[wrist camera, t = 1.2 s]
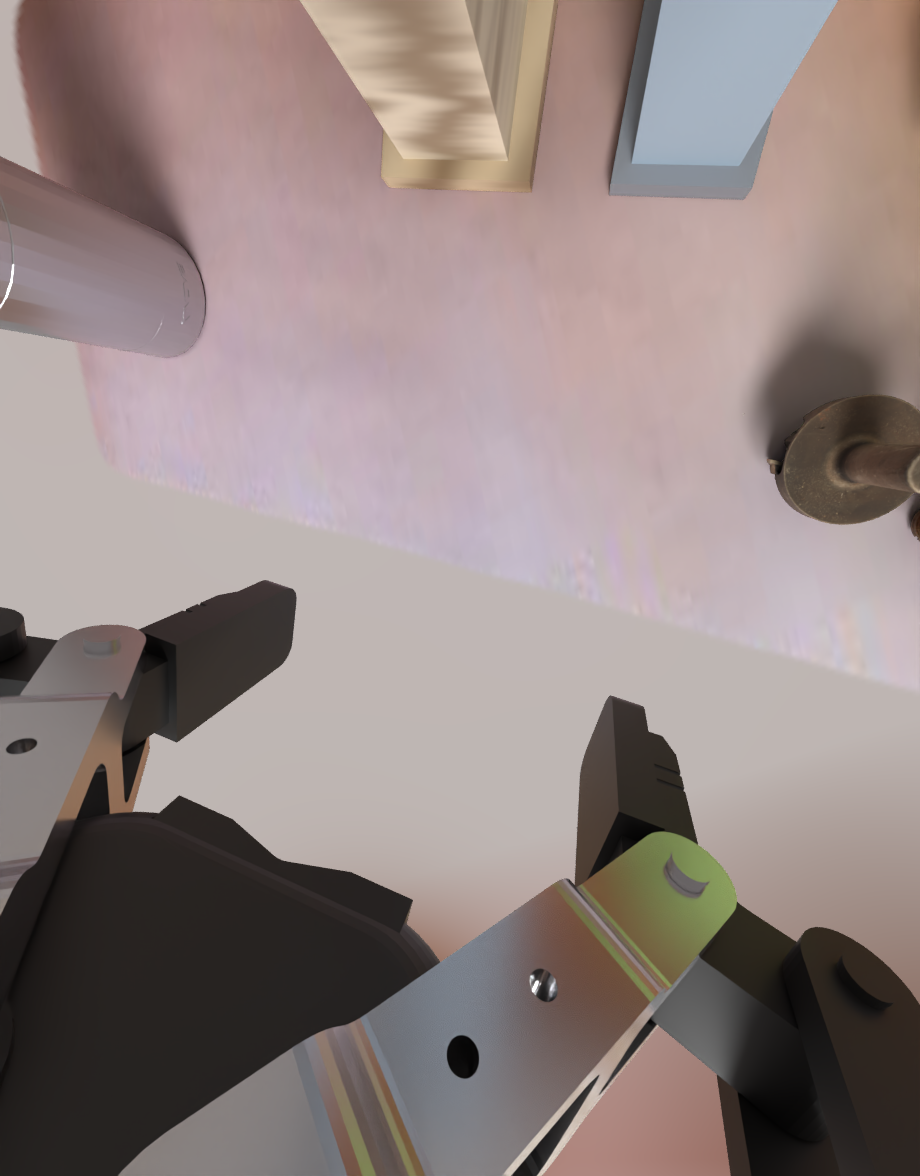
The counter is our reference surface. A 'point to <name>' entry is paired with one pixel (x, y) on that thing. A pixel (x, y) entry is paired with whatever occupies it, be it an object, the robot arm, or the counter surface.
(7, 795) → the robot arm
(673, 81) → the post
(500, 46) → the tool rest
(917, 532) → the bolt
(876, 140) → the counter surface
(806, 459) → the industrial component
